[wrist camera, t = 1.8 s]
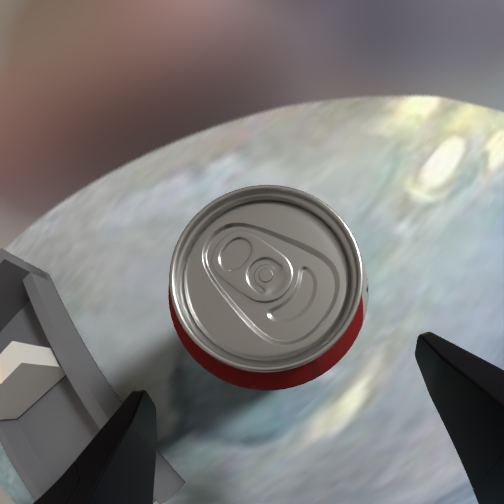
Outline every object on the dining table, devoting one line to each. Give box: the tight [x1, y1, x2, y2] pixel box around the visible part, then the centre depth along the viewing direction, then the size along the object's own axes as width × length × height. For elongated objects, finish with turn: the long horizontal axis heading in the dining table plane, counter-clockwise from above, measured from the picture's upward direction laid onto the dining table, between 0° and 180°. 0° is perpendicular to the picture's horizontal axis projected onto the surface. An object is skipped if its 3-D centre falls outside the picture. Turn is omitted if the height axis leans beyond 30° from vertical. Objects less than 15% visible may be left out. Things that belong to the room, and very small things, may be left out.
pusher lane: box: [0, 249, 185, 504], centre depth 16 cm, size 19×11×6 cm, turn 40°
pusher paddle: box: [0, 341, 66, 420], centre depth 16 cm, size 2×8×7 cm, turn 130°
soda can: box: [169, 185, 368, 390], centre depth 15 cm, size 7×7×12 cm
